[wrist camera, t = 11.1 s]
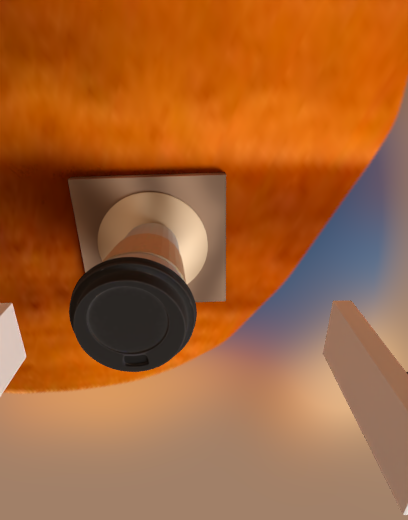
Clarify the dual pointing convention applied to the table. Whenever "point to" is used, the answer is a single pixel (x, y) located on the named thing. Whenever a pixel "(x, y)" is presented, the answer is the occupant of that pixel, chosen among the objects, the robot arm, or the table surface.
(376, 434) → the robot arm
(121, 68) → the table surface
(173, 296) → the coffee cup
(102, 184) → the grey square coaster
